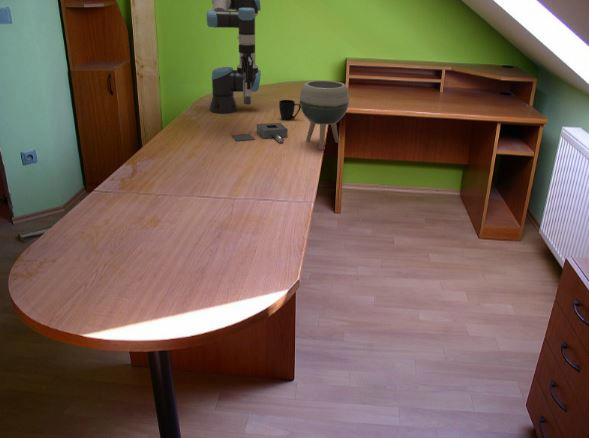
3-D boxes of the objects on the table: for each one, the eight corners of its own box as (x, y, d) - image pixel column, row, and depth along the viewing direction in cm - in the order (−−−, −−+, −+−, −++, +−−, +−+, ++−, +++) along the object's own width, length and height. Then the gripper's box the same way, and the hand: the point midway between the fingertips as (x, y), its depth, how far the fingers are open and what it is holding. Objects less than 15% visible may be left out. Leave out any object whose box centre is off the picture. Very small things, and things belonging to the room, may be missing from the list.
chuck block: (256, 132, 268) (256, 124, 266) (279, 130, 272) (279, 122, 270) (269, 144, 250) (269, 136, 248) (293, 142, 254) (293, 134, 252)
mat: (231, 135, 261) (231, 134, 261) (249, 134, 264) (249, 133, 263) (236, 141, 253) (236, 140, 253) (254, 139, 256) (254, 138, 256)
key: (240, 103, 261) (239, 72, 254) (252, 102, 263) (252, 71, 256) (241, 104, 258) (241, 73, 252) (254, 104, 260) (254, 73, 254)
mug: (296, 122, 286) (296, 104, 282) (276, 119, 291) (276, 101, 287) (303, 119, 293) (303, 101, 289) (283, 116, 297) (283, 99, 293)
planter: (350, 140, 259) (355, 82, 247) (338, 154, 240) (343, 91, 228) (306, 135, 265) (309, 77, 253) (291, 148, 246) (293, 86, 234)
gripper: (234, 41, 254) (235, 91, 264) (243, 46, 240) (243, 99, 250) (250, 41, 257) (250, 91, 267) (259, 46, 243) (259, 98, 253)
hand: (247, 95), depth 258 cm, fingers closed on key, 3 cm apart
